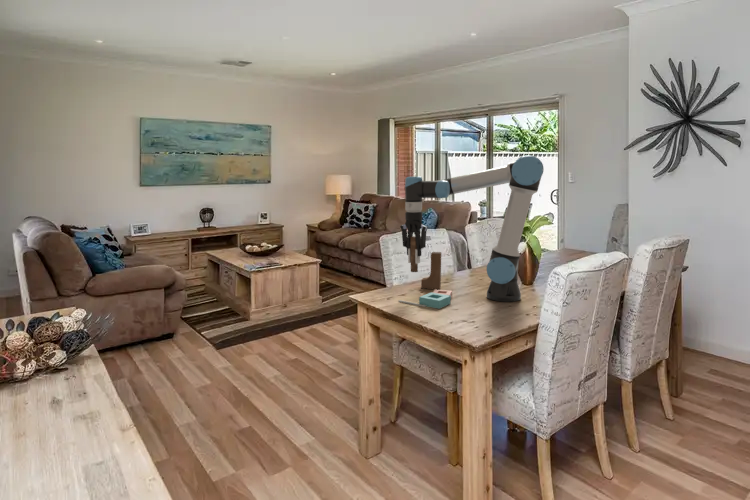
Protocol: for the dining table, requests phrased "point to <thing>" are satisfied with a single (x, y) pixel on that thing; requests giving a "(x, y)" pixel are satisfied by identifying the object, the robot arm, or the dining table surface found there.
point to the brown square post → (413, 254)
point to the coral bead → (443, 292)
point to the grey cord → (412, 303)
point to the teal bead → (435, 300)
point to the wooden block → (433, 273)
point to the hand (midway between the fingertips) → (414, 262)
